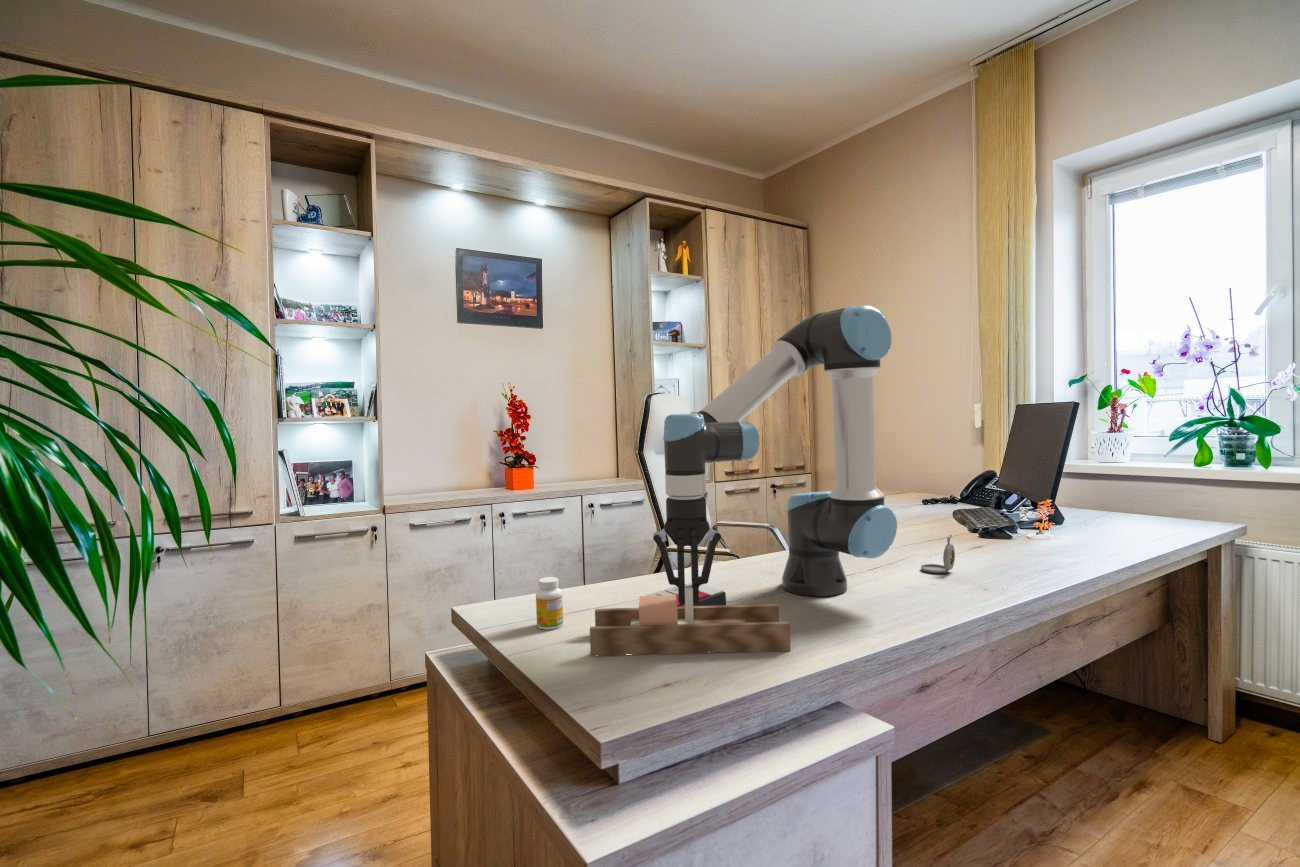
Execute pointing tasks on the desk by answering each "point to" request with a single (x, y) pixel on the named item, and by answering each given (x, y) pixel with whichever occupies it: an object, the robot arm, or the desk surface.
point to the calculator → (706, 595)
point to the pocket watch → (947, 559)
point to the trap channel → (691, 631)
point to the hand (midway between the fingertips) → (689, 620)
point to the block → (658, 610)
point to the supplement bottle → (549, 604)
